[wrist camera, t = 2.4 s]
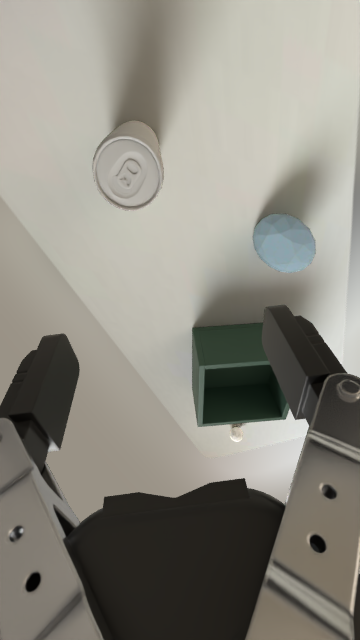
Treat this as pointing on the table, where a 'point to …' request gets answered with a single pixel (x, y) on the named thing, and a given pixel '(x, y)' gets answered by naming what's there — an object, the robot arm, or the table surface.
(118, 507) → the robot arm
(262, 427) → the table surface
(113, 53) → the table surface
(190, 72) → the table surface
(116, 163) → the beverage can
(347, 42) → the table surface
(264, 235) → the gemstone
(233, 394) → the bin
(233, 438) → the polyhedron
